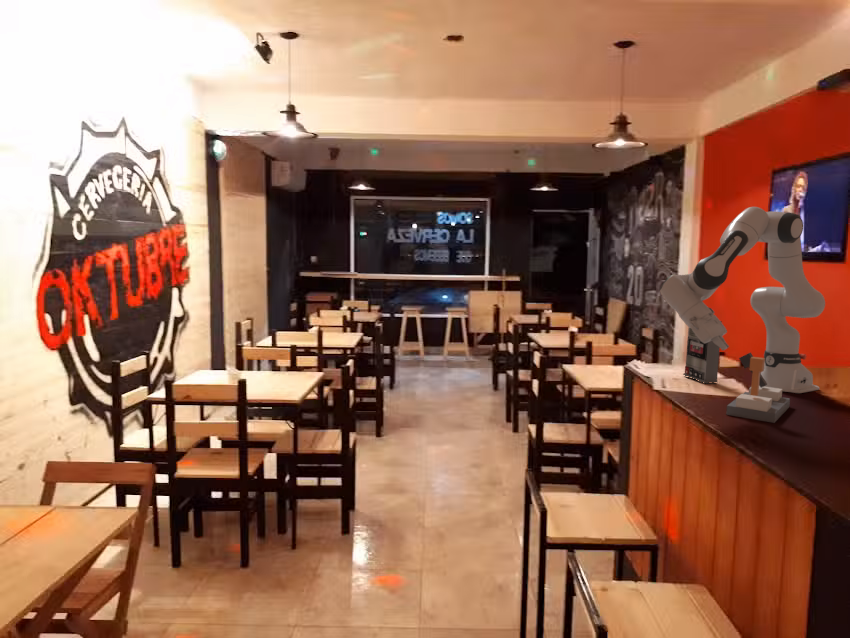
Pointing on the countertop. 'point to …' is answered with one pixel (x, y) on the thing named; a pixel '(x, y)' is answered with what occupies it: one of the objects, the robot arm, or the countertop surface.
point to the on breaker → (746, 363)
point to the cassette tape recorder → (701, 359)
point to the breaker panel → (760, 414)
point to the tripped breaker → (756, 373)
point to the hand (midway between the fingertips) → (726, 348)
